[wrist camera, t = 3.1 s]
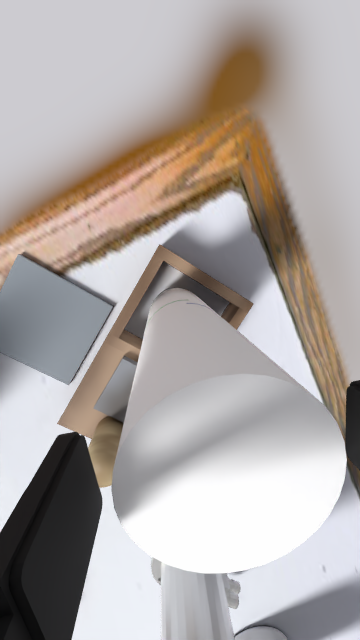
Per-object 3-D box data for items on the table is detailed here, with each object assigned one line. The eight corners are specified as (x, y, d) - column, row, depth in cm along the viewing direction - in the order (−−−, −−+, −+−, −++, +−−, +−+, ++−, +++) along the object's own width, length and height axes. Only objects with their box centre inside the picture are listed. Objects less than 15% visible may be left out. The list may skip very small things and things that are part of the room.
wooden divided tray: (242, 299, 32) (278, 314, 22) (149, 441, 35) (145, 508, 26) (159, 246, 30) (159, 238, 20) (69, 405, 33) (31, 463, 23)
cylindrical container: (197, 346, 33) (303, 580, 8) (144, 336, 32) (94, 565, 8) (210, 294, 31) (381, 396, 7) (155, 282, 31) (136, 352, 6)
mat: (113, 306, 31) (112, 307, 30) (70, 383, 33) (68, 385, 32) (21, 254, 29) (18, 254, 28) (-20, 339, 30) (-24, 341, 30)
